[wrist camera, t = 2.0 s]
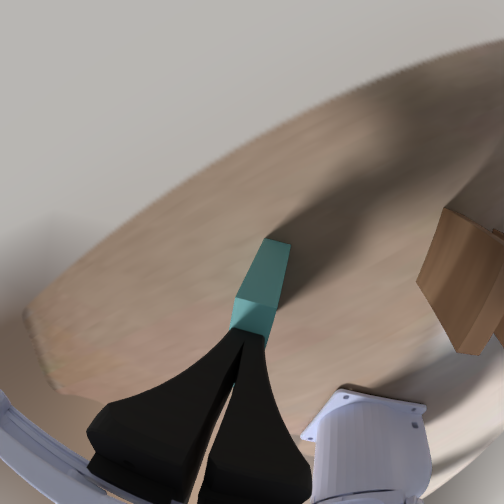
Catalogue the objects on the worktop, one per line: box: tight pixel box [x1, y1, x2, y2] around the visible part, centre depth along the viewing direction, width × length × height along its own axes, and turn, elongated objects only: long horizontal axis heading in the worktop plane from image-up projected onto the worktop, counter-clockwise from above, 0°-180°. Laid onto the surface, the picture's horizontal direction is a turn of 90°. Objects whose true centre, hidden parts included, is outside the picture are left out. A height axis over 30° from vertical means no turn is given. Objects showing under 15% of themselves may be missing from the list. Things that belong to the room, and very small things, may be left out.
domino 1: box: [229, 238, 291, 387], centre depth 15 cm, size 2×5×7 cm, turn 169°
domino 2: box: [416, 207, 504, 356], centre depth 12 cm, size 2×5×7 cm, turn 169°
